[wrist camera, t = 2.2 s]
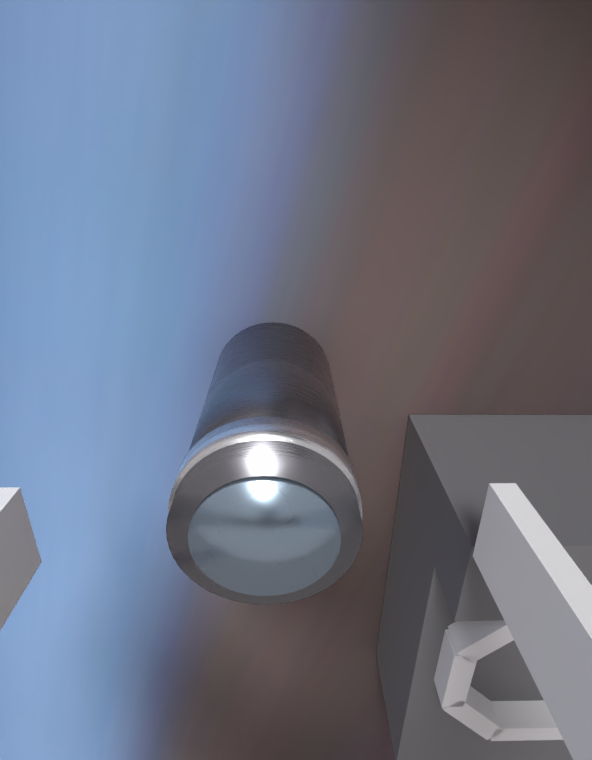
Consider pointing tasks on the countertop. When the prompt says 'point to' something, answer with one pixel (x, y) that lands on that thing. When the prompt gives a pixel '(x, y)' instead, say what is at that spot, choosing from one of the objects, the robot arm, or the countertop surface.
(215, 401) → the lens
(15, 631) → the countertop surface
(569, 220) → the countertop surface
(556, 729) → the camera body
